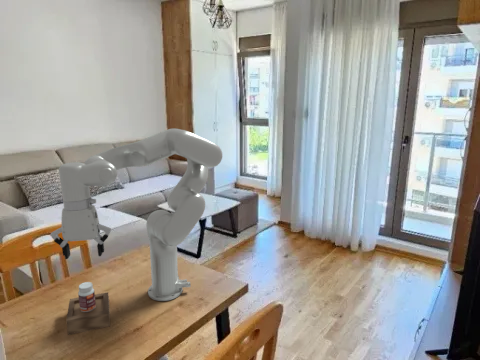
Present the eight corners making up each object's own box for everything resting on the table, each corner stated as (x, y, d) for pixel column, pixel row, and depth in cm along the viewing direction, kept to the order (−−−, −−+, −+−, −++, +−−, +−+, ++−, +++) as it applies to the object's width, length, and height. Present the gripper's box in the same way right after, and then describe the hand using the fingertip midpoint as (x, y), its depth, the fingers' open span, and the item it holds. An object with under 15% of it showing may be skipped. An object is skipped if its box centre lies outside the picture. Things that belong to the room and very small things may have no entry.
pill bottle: (90, 313, 110) (87, 290, 108) (76, 311, 111) (74, 288, 109) (99, 304, 114) (96, 282, 112) (86, 303, 115) (83, 280, 113)
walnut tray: (109, 304, 121) (108, 292, 120) (109, 326, 110) (108, 312, 109) (71, 312, 117) (69, 299, 116) (68, 334, 106) (66, 320, 105)
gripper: (110, 198, 109) (115, 248, 113) (50, 201, 106) (58, 252, 110) (105, 206, 102) (111, 258, 106) (41, 209, 99) (50, 264, 103)
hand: (84, 255), depth 108 cm, fingers open, 9 cm apart
